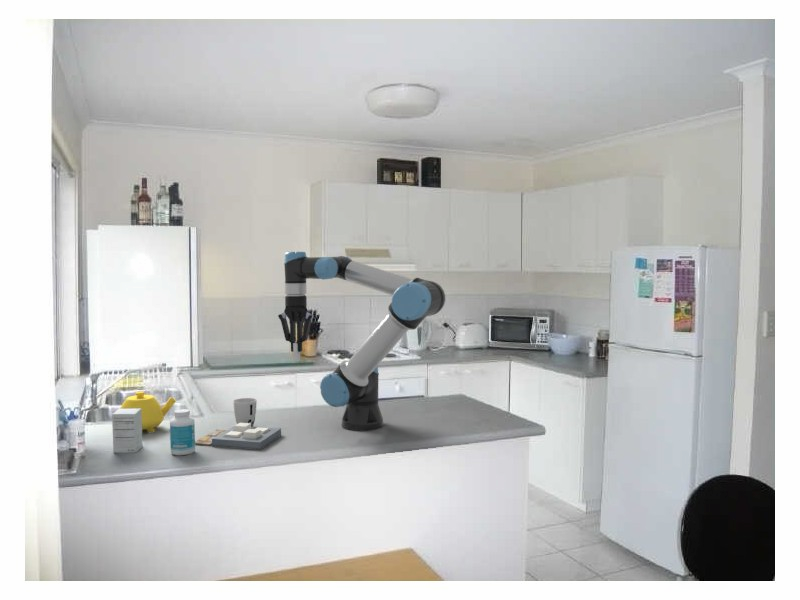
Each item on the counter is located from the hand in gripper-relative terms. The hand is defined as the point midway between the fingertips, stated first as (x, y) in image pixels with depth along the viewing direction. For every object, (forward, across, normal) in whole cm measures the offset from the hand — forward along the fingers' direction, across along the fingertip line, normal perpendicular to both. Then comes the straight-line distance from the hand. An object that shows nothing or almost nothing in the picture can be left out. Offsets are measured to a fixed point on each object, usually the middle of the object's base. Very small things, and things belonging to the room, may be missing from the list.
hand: (296, 360), depth 248 cm
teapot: (+24, +51, +14) cm, 59 cm away
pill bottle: (+25, +25, +36) cm, 50 cm away
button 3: (+22, +7, +23) cm, 33 cm away
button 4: (+24, +7, +16) cm, 30 cm away
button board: (+24, +10, +20) cm, 33 cm away
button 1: (+24, +14, +23) cm, 36 cm away
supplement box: (+24, +44, +37) cm, 62 cm away
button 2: (+22, +14, +16) cm, 31 cm away
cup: (+25, +18, +4) cm, 31 cm away
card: (+24, +23, +20) cm, 39 cm away
